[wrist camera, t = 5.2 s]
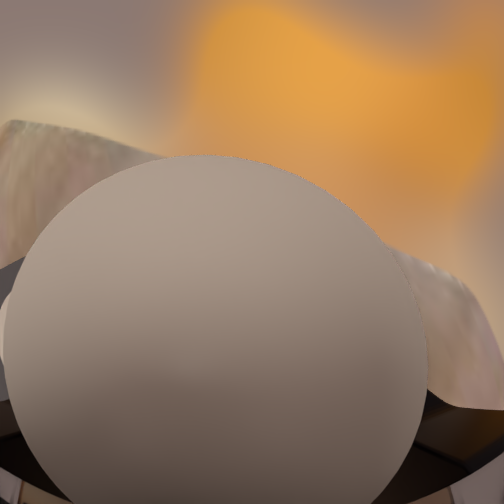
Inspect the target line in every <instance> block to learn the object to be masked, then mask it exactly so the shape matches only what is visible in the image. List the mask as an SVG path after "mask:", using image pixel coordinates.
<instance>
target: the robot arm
mask: <svg viewBox="0 0 504 504" xmlns="http://www.w3.org/2000/svg"><path fill="white" fill-rule="evenodd" d="M0 504H74V503H73V502H72V501H71V500H70V499H69V498H68V497H67V496H66V495H65V494H64V493H63V492H62V491H61V490H60V489H59V488H58V487H57V486H56V485H55V484H54V482H53V481H52V480H51V479H50V478H49V476H48V475H47V474H46V472H45V471H44V470H43V469H42V467H41V466H40V464H39V463H38V461H37V459H36V458H35V456H34V455H33V453H32V451H31V450H30V448H29V446H28V444H27V442H26V440H25V438H24V436H23V434H22V432H21V430H20V428H19V425H18V423H17V420H16V417H15V415H14V412H13V409H12V405H11V402H10V399H7V400H4V401H0ZM371 504H504V410H486V409H472V408H462V407H456V406H453V405H450V404H448V403H446V402H444V401H443V400H441V399H440V398H438V397H437V396H436V395H434V394H433V393H432V392H430V391H429V390H428V389H427V394H426V399H425V404H424V409H423V413H422V418H421V422H420V425H419V427H418V430H417V433H416V436H415V438H414V441H413V443H412V446H411V448H410V450H409V452H408V454H407V456H406V457H405V459H404V461H403V463H402V465H401V466H400V468H399V470H398V471H397V473H396V474H395V475H394V477H393V478H392V480H391V481H390V482H389V484H388V485H387V486H386V487H385V489H384V490H383V491H382V492H381V493H380V494H379V496H378V497H377V498H376V499H375V500H374V501H373V502H372V503H371Z"/></svg>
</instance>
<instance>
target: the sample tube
mask: <svg viewBox="0 0 504 504" xmlns="http://www.w3.org/2000/svg"><path fill="white" fill-rule="evenodd" d="M3 361H4V372H5V379H6V385H7V390H8V394H9V399H10V402H11V405H12V409H13V412H14V415H15V417H16V420H17V423H18V425H19V428H20V430H21V432H22V434H23V436H24V438H25V440H26V442H27V444H28V446H29V448H30V450H31V451H32V453H33V455H34V456H35V458H36V459H37V461H38V463H39V464H40V466H41V467H42V469H43V470H44V471H45V472H46V474H47V475H48V476H49V478H50V479H51V480H52V481H53V482H54V484H55V485H56V486H57V487H58V488H59V489H60V490H61V491H62V492H63V493H64V494H65V495H66V496H67V497H68V498H69V499H70V500H71V501H72V502H73V503H74V504H371V503H372V502H373V501H374V500H375V499H376V498H377V497H378V496H379V494H380V493H381V492H382V491H383V490H384V489H385V487H386V486H387V485H388V484H389V482H390V481H391V480H392V478H393V477H394V475H395V474H396V473H397V471H398V470H399V468H400V466H401V465H402V463H403V461H404V459H405V457H406V456H407V454H408V452H409V450H410V448H411V446H412V443H413V441H414V438H415V436H416V433H417V430H418V427H419V425H420V422H421V418H422V413H423V409H424V404H425V399H426V394H427V380H428V356H427V345H426V336H425V332H424V327H423V323H422V319H421V315H420V311H419V308H418V305H417V303H416V300H415V297H414V295H413V292H412V290H411V287H410V285H409V283H408V281H407V279H406V277H405V275H404V273H403V272H402V270H401V268H400V266H399V265H398V263H397V261H396V260H395V258H394V256H393V255H392V253H391V252H390V251H389V249H388V248H387V247H386V246H385V244H384V243H383V242H382V241H381V239H380V238H379V237H378V235H377V234H376V233H375V232H374V231H373V230H372V229H371V228H370V227H369V226H368V225H367V224H366V223H365V222H364V221H363V220H362V219H361V218H360V217H359V216H358V215H357V214H356V213H355V212H354V211H353V210H352V209H350V208H349V207H348V206H346V205H345V204H344V203H342V202H341V201H340V200H338V199H337V198H335V197H334V196H333V195H331V194H330V193H328V192H327V191H326V190H324V189H322V188H320V187H318V186H316V185H315V184H313V183H311V182H309V181H307V180H305V179H303V178H302V177H300V176H298V175H295V174H293V173H290V172H287V171H285V170H282V169H279V168H276V167H273V166H271V165H268V164H264V163H260V162H255V161H251V160H247V159H242V158H237V157H226V156H215V155H193V156H177V157H171V158H165V159H160V160H155V161H150V162H146V163H143V164H140V165H137V166H134V167H131V168H128V169H125V170H122V171H120V172H118V173H116V174H114V175H112V176H110V177H108V178H106V179H104V180H102V181H100V182H98V183H96V184H95V185H93V186H92V187H90V188H89V189H87V190H86V191H84V192H83V193H82V194H80V195H79V196H77V197H76V198H75V199H73V200H72V201H71V202H70V203H69V204H68V205H67V206H66V207H64V208H63V209H62V210H61V211H60V212H59V213H58V214H57V215H56V216H55V217H54V218H53V219H52V221H51V222H50V223H49V224H48V225H47V226H46V228H45V229H44V230H43V231H42V232H41V234H40V235H39V236H38V238H37V239H36V241H35V243H34V244H33V246H32V247H31V249H30V250H29V252H28V254H27V255H26V257H25V259H24V261H23V263H22V266H21V268H20V270H19V272H18V274H17V277H16V279H15V282H14V285H13V288H12V291H11V295H10V298H9V301H8V306H7V311H6V317H5V323H4V335H3Z"/></svg>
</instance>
